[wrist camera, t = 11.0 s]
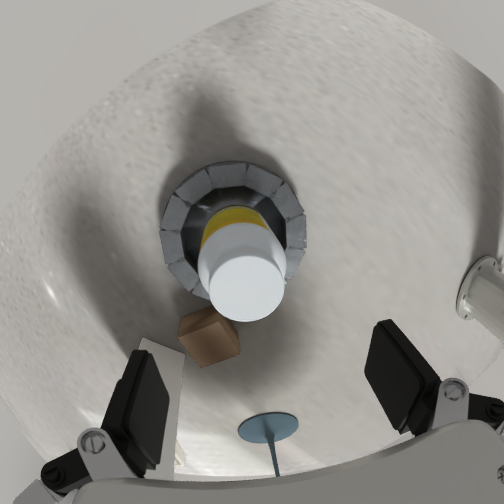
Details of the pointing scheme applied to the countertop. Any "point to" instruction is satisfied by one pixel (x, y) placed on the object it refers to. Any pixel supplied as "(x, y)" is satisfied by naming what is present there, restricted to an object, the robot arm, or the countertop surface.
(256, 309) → the pill bottle
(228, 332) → the walnut block
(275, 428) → the cocktail glass
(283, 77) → the countertop surface
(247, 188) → the collar
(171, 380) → the milk
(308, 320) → the countertop surface
